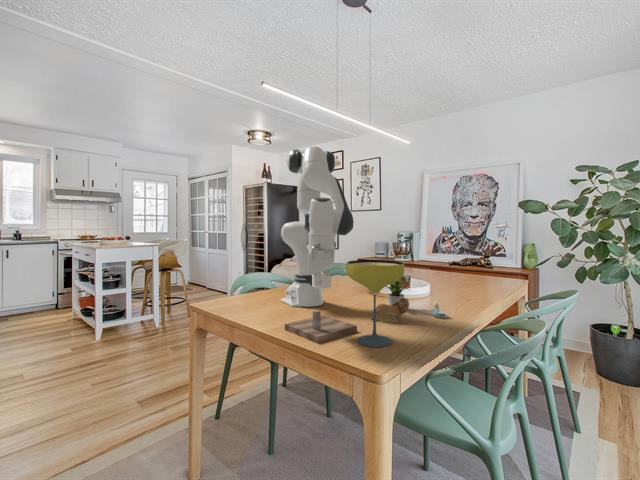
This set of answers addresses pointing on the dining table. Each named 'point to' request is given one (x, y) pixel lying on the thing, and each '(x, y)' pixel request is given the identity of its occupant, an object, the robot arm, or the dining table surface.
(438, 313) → the pacifier
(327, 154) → the robot arm
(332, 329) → the board
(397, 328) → the dining table surface
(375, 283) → the cocktail glass
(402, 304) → the lion figurine
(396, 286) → the house plant
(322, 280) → the white hollow tube
